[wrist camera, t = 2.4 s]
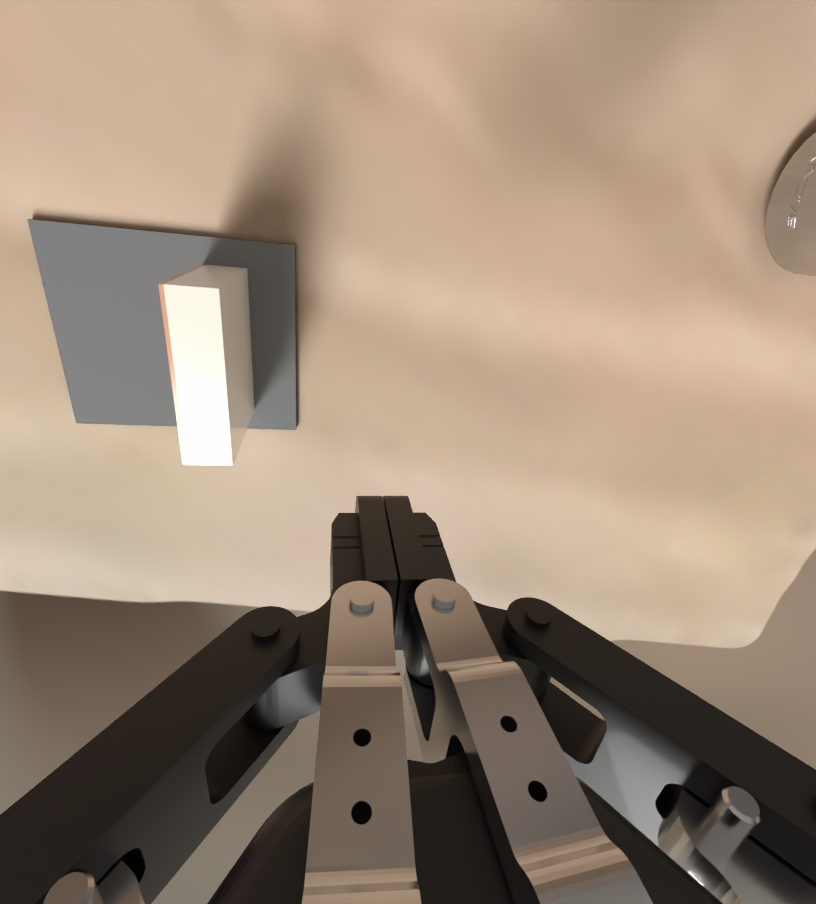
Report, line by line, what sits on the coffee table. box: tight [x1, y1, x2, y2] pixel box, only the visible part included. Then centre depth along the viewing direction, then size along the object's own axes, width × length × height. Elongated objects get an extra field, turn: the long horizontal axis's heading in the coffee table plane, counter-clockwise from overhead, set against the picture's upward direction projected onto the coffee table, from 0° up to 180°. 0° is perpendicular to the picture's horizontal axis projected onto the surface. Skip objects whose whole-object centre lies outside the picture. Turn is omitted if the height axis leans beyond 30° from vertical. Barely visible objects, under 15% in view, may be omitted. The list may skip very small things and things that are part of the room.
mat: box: [27, 219, 296, 430], centre depth 29 cm, size 14×12×1 cm
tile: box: [158, 264, 254, 466], centre depth 26 cm, size 2×9×8 cm, turn 174°
